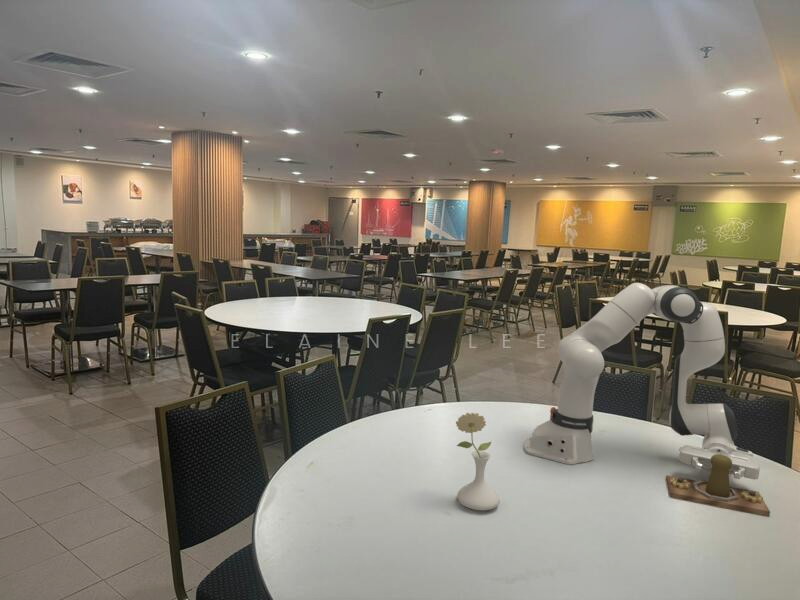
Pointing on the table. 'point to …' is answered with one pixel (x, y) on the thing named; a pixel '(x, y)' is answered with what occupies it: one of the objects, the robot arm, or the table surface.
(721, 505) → the gear board
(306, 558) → the table surface
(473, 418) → the flower in vase
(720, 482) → the cork
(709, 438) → the robot arm
